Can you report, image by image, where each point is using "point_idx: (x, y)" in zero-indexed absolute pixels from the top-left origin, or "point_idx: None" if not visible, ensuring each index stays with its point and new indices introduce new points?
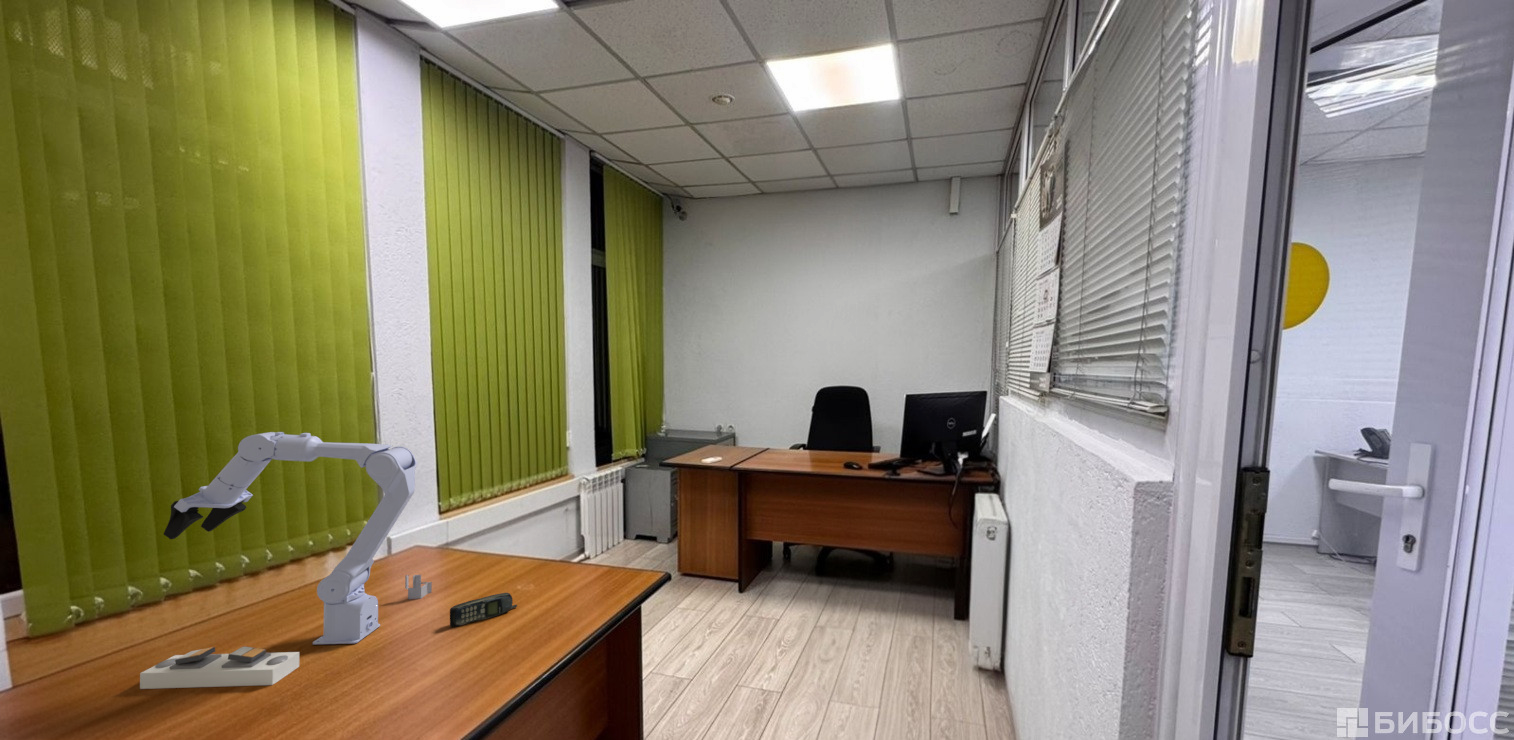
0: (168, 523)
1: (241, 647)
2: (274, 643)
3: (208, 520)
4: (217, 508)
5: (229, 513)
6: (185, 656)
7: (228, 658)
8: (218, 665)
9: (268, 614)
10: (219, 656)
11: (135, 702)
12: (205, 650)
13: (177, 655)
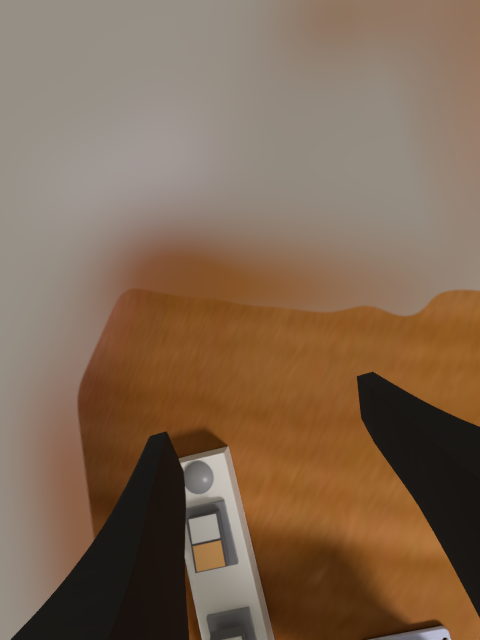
0: (124, 491)
1: (237, 637)
2: (346, 537)
3: (385, 415)
4: (450, 486)
5: (462, 575)
6: (194, 534)
7: (211, 633)
8: (212, 596)
9: (442, 370)
10: (234, 563)
11: None
12: (212, 564)
13: (224, 458)
